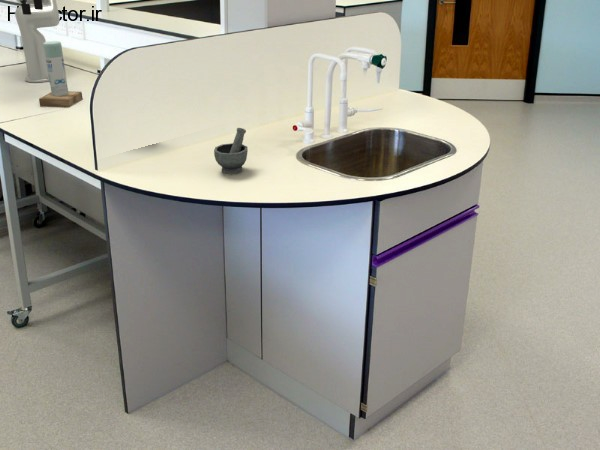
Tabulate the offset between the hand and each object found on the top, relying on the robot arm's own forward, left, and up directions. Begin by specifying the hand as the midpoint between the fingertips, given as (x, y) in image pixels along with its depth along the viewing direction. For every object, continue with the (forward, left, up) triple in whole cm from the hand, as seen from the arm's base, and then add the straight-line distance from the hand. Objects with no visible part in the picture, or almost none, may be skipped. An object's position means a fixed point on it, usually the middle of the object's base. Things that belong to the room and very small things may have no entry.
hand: (33, 11), depth 275 cm
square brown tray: (+10, +11, -33) cm, 36 cm away
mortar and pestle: (+74, +96, -33) cm, 126 cm away
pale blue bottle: (+10, +11, -30) cm, 33 cm away
